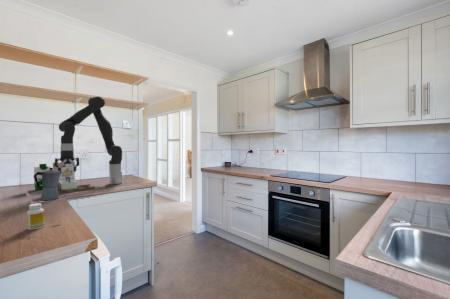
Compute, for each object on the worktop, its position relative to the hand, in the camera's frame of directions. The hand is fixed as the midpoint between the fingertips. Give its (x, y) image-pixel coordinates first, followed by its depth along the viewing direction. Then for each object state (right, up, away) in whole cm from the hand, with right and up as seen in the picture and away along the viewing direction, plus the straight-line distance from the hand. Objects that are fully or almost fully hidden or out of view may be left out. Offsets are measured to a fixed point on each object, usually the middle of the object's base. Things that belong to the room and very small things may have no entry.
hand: (67, 172), depth 154 cm
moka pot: (+4, -15, -20) cm, 25 cm away
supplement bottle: (+35, -16, -65) cm, 75 cm away
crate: (0, -13, 0) cm, 13 cm away
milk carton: (-23, -14, +6) cm, 28 cm away
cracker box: (-13, -14, +14) cm, 24 cm away
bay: (+3, -14, +3) cm, 15 cm away
